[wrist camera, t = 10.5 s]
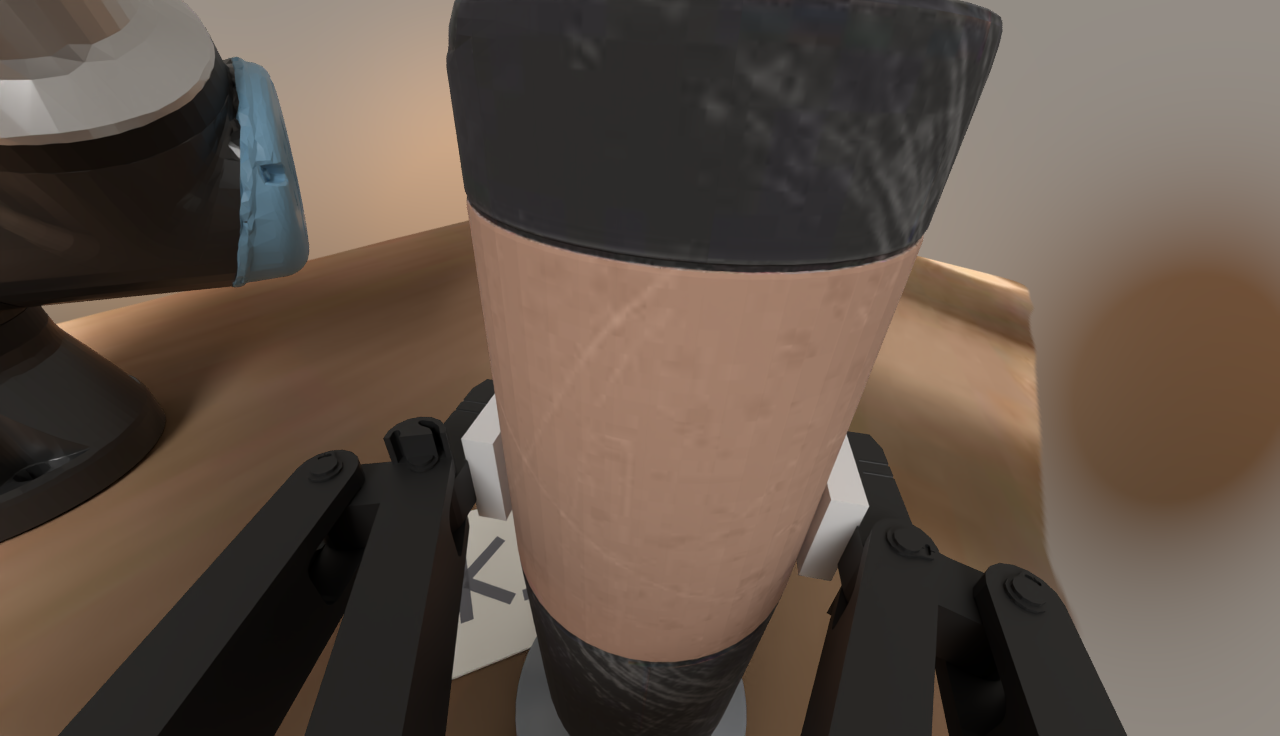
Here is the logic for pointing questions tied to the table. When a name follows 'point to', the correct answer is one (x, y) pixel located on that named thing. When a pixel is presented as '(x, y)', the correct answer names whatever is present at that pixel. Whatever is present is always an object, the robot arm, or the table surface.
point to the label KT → (492, 598)
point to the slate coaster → (543, 727)
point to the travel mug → (690, 301)
